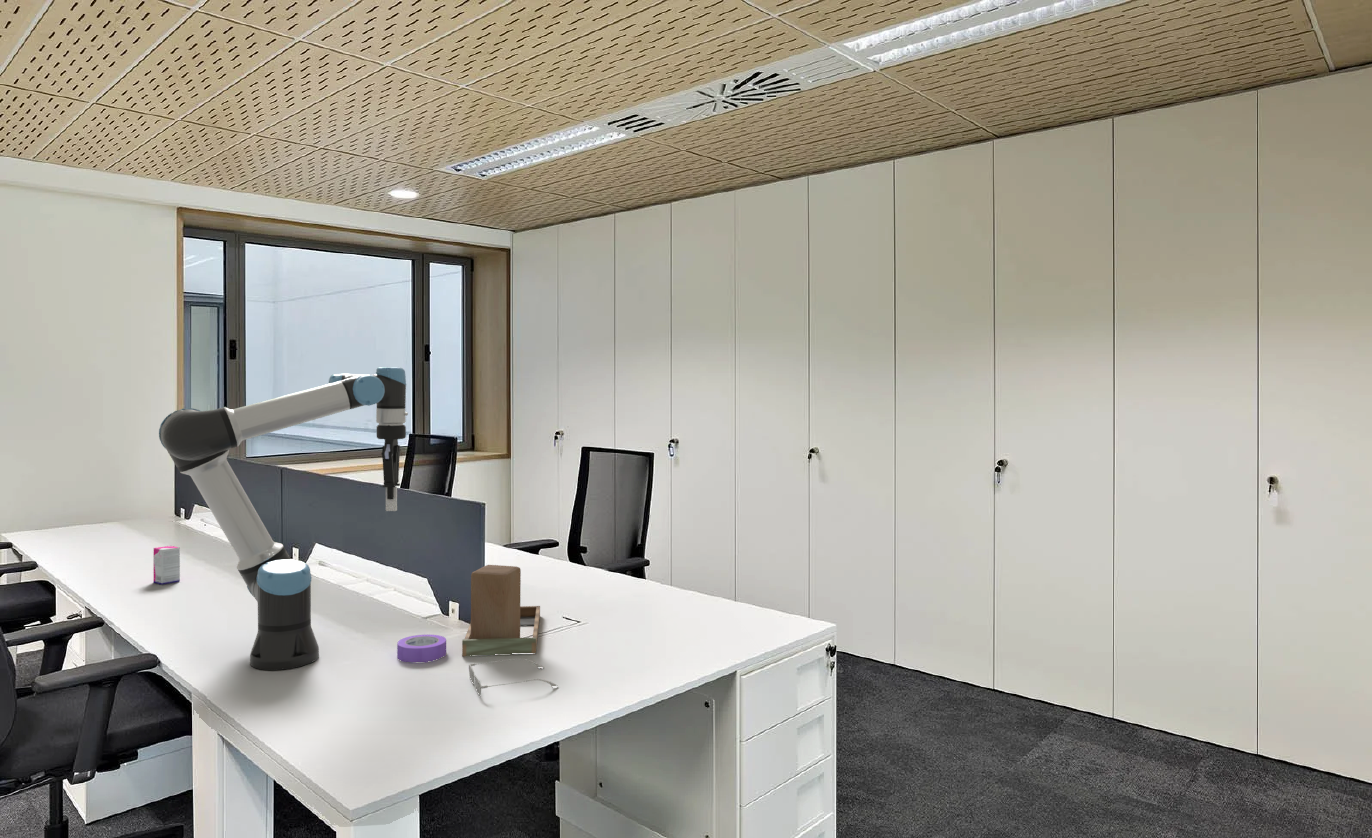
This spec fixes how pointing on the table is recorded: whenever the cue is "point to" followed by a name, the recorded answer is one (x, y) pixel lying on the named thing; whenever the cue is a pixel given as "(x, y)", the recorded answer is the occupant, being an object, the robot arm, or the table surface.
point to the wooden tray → (506, 645)
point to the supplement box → (166, 565)
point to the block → (495, 602)
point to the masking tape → (421, 648)
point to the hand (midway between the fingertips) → (391, 510)
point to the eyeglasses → (479, 686)
